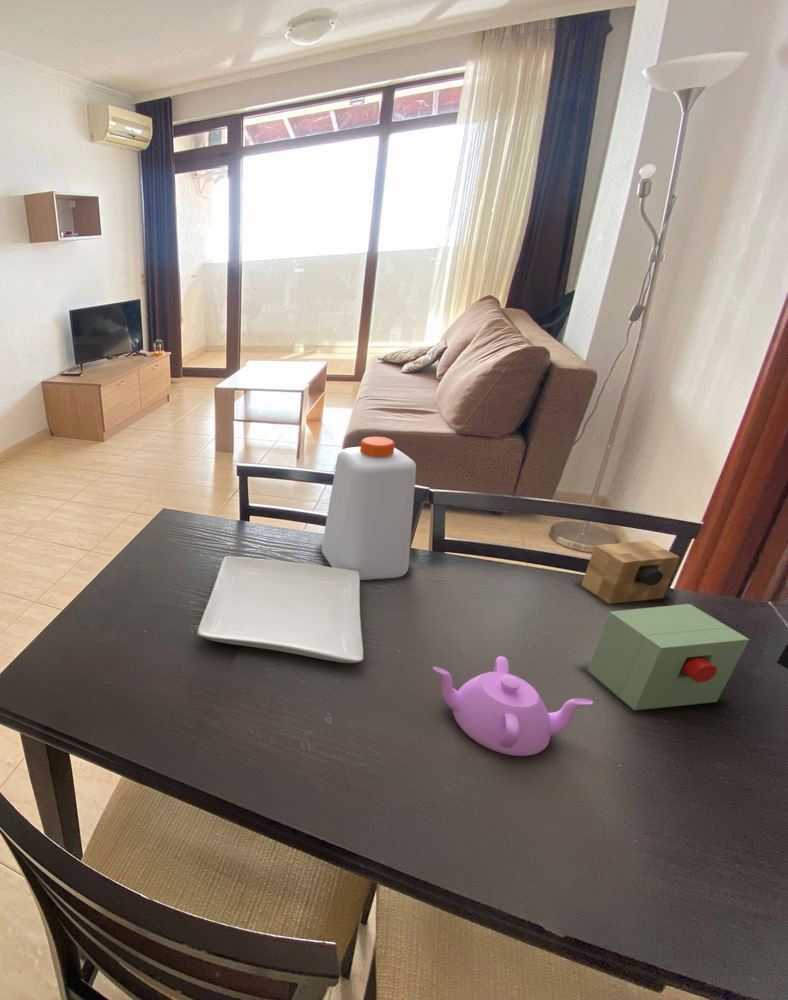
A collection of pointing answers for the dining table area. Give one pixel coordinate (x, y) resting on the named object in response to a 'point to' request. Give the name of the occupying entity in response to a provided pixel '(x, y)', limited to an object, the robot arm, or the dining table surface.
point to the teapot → (505, 711)
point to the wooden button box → (628, 571)
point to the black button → (650, 576)
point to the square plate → (286, 608)
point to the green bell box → (664, 655)
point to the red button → (699, 670)
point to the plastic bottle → (371, 510)
